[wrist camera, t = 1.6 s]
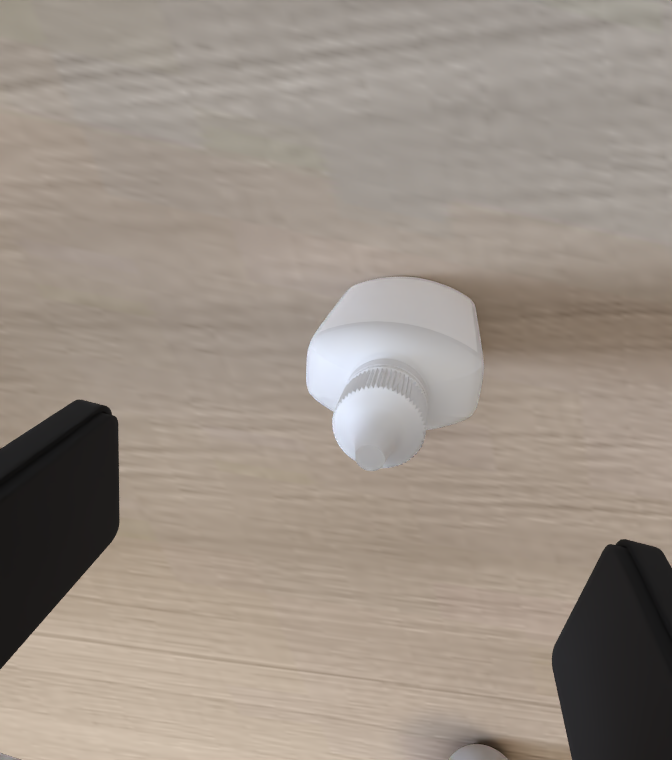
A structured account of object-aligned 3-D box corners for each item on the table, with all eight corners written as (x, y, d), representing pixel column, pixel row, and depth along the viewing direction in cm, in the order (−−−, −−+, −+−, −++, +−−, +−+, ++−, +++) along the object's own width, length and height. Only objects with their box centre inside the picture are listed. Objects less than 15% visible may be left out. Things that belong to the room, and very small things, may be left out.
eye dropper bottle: (384, 235, 21) (317, 314, 11) (492, 311, 22) (534, 463, 11) (329, 316, 23) (226, 454, 13) (429, 385, 24) (412, 576, 13)
